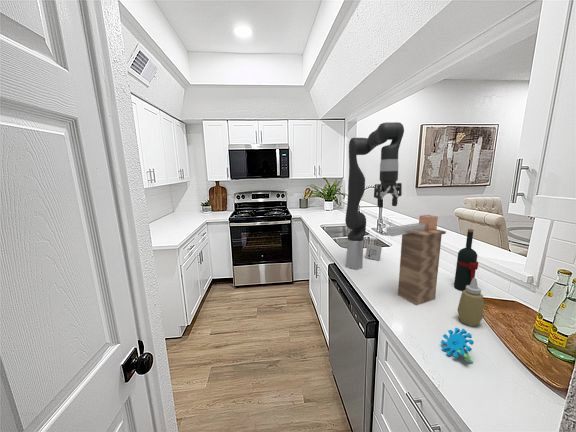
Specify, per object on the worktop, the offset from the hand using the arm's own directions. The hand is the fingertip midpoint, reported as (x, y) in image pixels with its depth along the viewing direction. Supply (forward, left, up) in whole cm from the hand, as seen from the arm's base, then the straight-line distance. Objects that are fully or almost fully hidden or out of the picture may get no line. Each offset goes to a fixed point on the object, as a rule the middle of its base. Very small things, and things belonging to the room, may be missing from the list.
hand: (387, 206), depth 112 cm
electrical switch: (-6, +47, -42) cm, 63 cm away
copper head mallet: (+10, -4, -10) cm, 14 cm away
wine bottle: (+38, +17, -42) cm, 59 cm away
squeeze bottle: (+32, -13, -42) cm, 54 cm away
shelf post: (+15, +1, -42) cm, 44 cm away
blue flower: (+23, -34, -42) cm, 59 cm away
